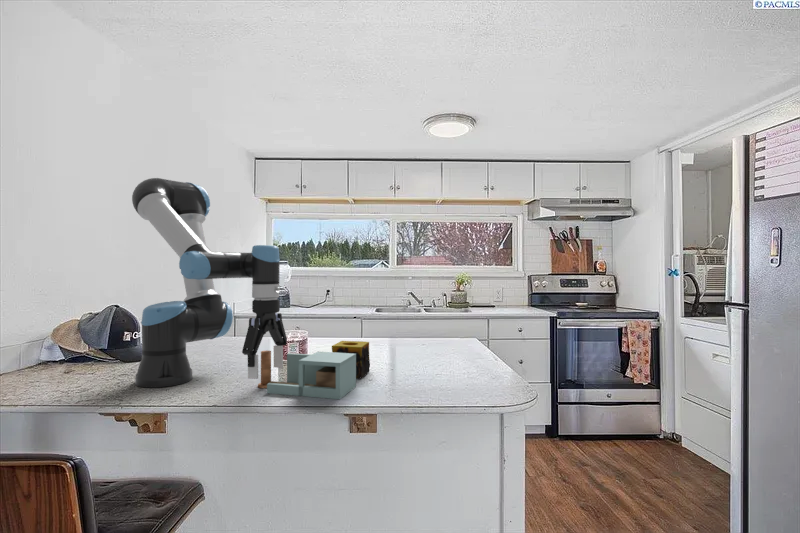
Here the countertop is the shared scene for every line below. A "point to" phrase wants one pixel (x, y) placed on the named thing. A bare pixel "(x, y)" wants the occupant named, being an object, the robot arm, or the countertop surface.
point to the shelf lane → (304, 372)
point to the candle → (361, 355)
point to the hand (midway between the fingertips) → (266, 372)
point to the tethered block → (323, 379)
